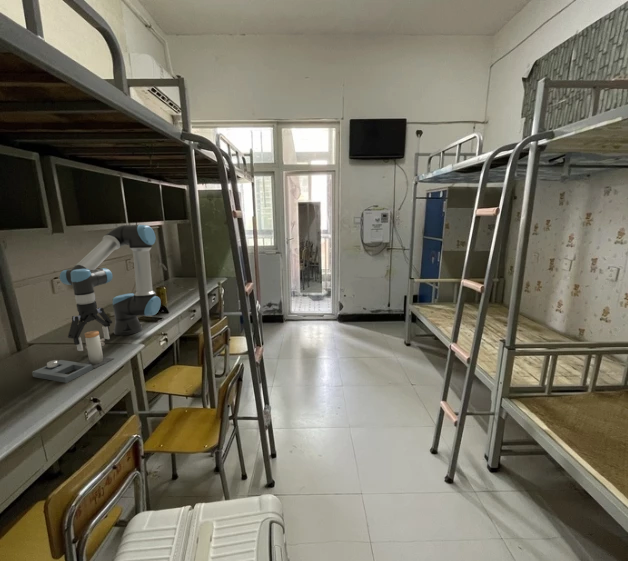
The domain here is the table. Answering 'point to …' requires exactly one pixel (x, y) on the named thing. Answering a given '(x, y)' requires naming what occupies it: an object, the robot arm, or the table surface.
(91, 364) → the mat
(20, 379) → the table surface
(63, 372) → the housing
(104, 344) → the pipe connector
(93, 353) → the cartridge
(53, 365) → the plunger
